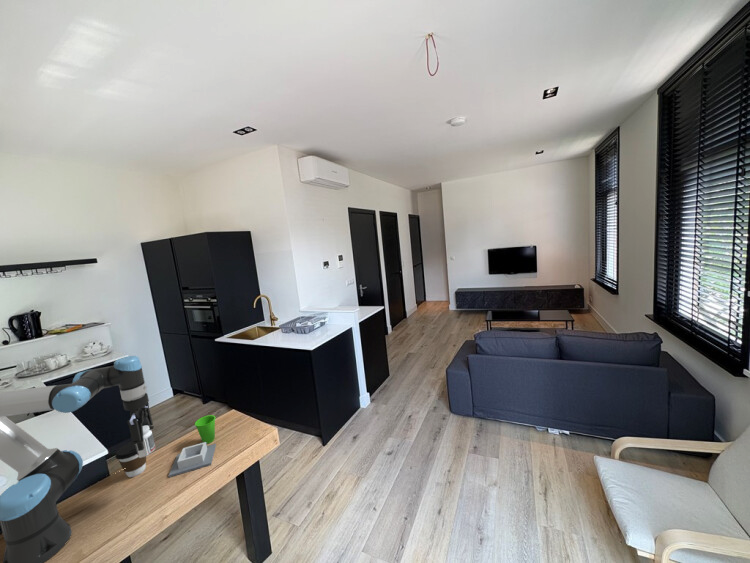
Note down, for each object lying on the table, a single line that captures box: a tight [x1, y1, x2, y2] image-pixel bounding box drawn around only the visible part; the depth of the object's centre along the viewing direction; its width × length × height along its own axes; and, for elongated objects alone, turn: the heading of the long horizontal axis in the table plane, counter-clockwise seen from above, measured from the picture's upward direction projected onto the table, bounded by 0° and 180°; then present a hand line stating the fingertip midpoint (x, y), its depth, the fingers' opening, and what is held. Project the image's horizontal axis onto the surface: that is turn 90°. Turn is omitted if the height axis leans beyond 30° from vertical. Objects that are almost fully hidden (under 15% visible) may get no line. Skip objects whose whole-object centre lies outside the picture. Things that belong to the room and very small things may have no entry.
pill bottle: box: [135, 425, 156, 456], centre depth 118 cm, size 6×6×10 cm
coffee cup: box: [114, 441, 147, 478], centre depth 131 cm, size 11×11×12 cm
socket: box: [168, 442, 217, 478], centre depth 135 cm, size 16×14×4 cm
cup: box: [194, 414, 217, 444], centre depth 148 cm, size 9×9×11 cm
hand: (147, 450), depth 118 cm, fingers closed on pill bottle, 6 cm apart
